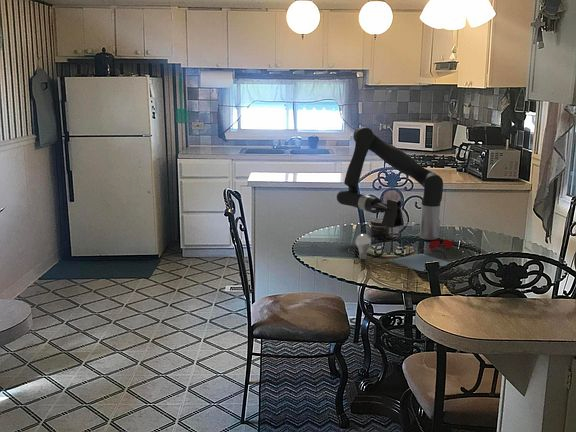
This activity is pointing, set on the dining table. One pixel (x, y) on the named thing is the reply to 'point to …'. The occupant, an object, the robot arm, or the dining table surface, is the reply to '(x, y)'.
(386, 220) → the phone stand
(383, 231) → the jar
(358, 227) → the dining table surface
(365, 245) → the light bulb
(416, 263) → the tray
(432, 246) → the glasses
